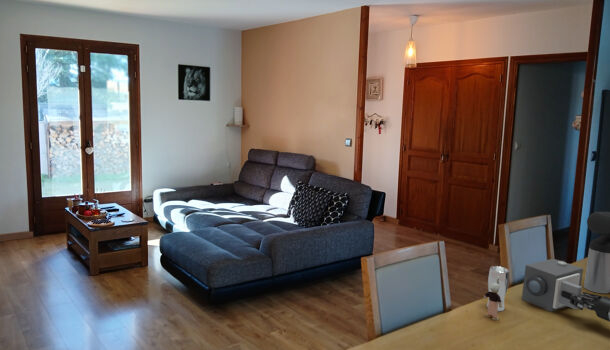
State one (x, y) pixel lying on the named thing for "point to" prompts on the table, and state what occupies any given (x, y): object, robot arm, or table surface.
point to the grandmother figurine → (493, 301)
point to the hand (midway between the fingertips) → (564, 292)
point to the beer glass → (499, 282)
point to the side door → (567, 285)
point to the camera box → (546, 281)
